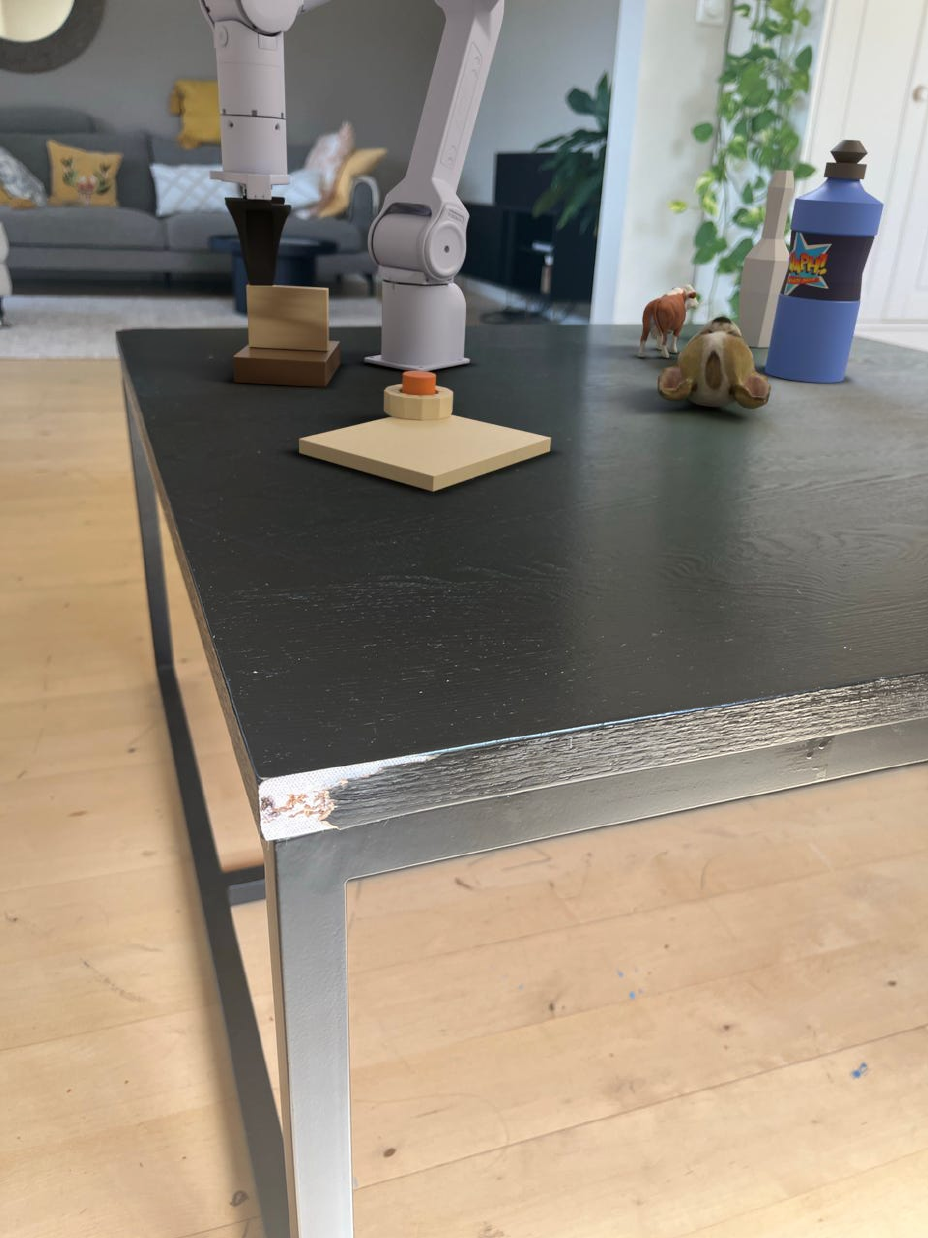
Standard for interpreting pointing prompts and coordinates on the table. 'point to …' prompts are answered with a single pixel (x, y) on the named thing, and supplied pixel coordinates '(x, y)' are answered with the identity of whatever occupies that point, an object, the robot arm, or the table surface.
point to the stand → (286, 366)
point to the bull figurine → (667, 318)
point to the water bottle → (825, 273)
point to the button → (418, 383)
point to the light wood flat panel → (288, 317)
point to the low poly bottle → (766, 266)
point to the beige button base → (424, 443)
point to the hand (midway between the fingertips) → (259, 280)
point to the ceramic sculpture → (715, 370)
